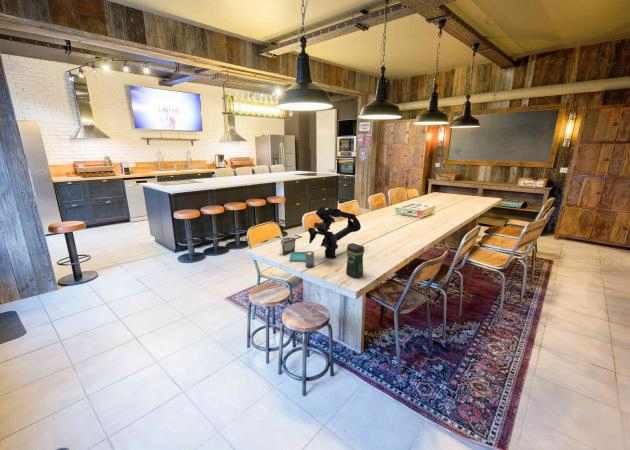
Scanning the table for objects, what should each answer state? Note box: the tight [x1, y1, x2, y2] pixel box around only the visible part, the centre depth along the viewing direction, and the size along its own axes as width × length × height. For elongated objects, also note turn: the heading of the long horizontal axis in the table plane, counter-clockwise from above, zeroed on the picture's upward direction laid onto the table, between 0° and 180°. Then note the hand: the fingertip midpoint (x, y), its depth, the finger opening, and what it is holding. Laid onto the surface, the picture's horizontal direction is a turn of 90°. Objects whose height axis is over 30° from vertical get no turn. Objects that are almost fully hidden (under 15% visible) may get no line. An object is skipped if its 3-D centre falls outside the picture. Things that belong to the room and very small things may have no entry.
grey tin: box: [304, 250, 315, 269], centre depth 181 cm, size 5×5×9 cm
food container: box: [280, 236, 297, 256], centre depth 204 cm, size 12×6×10 cm, turn 141°
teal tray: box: [289, 251, 306, 263], centre depth 196 cm, size 14×14×2 cm
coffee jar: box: [345, 242, 365, 278], centre depth 168 cm, size 10×8×19 cm
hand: (315, 244), depth 183 cm, fingers open, 9 cm apart
